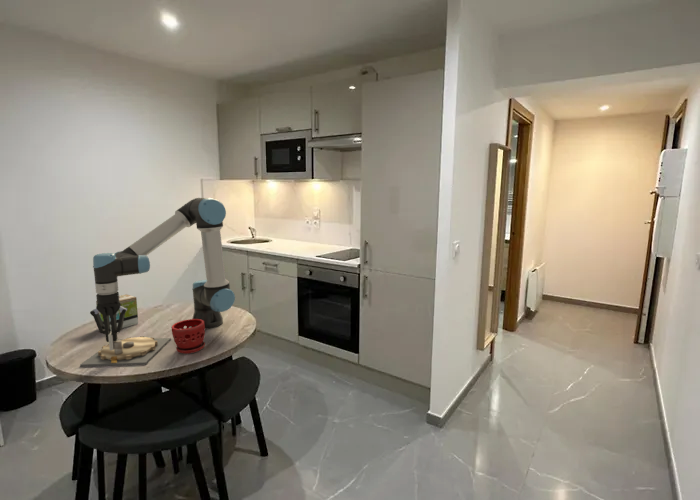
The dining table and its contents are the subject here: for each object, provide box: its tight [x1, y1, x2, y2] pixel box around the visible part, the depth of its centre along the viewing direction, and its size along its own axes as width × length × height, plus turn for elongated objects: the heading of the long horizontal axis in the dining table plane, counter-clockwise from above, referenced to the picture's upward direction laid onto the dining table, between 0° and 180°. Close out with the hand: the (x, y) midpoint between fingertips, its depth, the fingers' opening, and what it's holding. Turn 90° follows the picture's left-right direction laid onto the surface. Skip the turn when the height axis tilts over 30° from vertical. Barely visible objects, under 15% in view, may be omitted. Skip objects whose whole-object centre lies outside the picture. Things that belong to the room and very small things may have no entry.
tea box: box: [95, 293, 139, 332], centre depth 193 cm, size 15×10×15 cm
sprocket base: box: [79, 337, 172, 368], centre depth 163 cm, size 25×25×2 cm
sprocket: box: [97, 335, 158, 361], centre depth 162 cm, size 22×22×6 cm
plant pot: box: [171, 318, 206, 355], centre depth 165 cm, size 13×13×12 cm
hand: (112, 348), depth 155 cm, fingers closed
